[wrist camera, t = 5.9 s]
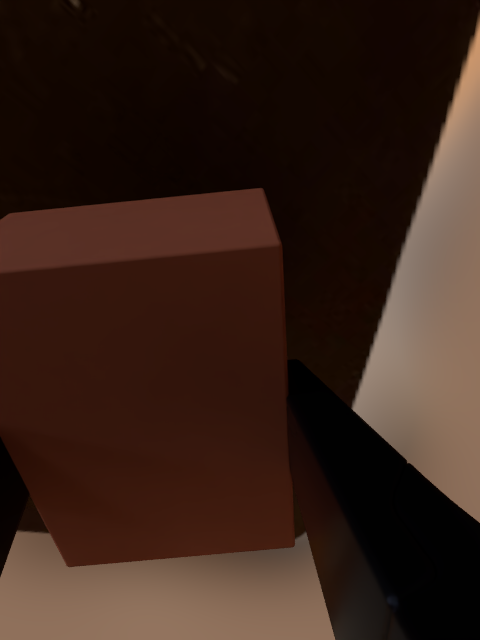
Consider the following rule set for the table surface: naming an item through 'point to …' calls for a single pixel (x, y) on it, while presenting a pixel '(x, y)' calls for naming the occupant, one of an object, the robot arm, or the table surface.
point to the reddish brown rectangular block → (148, 375)
